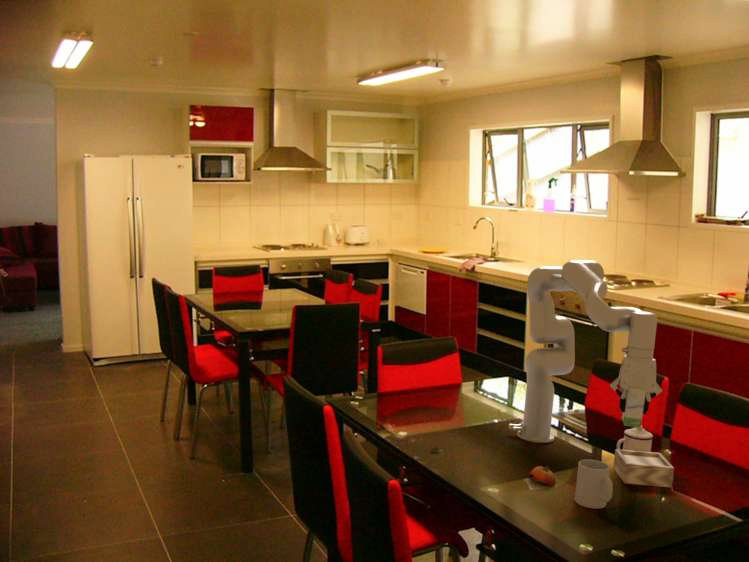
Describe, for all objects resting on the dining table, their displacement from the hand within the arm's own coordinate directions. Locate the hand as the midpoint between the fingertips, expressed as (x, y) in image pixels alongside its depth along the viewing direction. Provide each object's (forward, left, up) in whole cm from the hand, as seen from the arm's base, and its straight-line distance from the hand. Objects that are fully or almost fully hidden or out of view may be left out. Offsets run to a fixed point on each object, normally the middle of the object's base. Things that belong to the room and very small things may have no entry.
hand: (633, 411), depth 242 cm
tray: (+6, +4, -21) cm, 22 cm away
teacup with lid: (+7, +20, -21) cm, 30 cm away
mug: (-14, -23, -21) cm, 35 cm away
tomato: (-26, -9, -22) cm, 35 cm away
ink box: (0, 0, -4) cm, 4 cm away
